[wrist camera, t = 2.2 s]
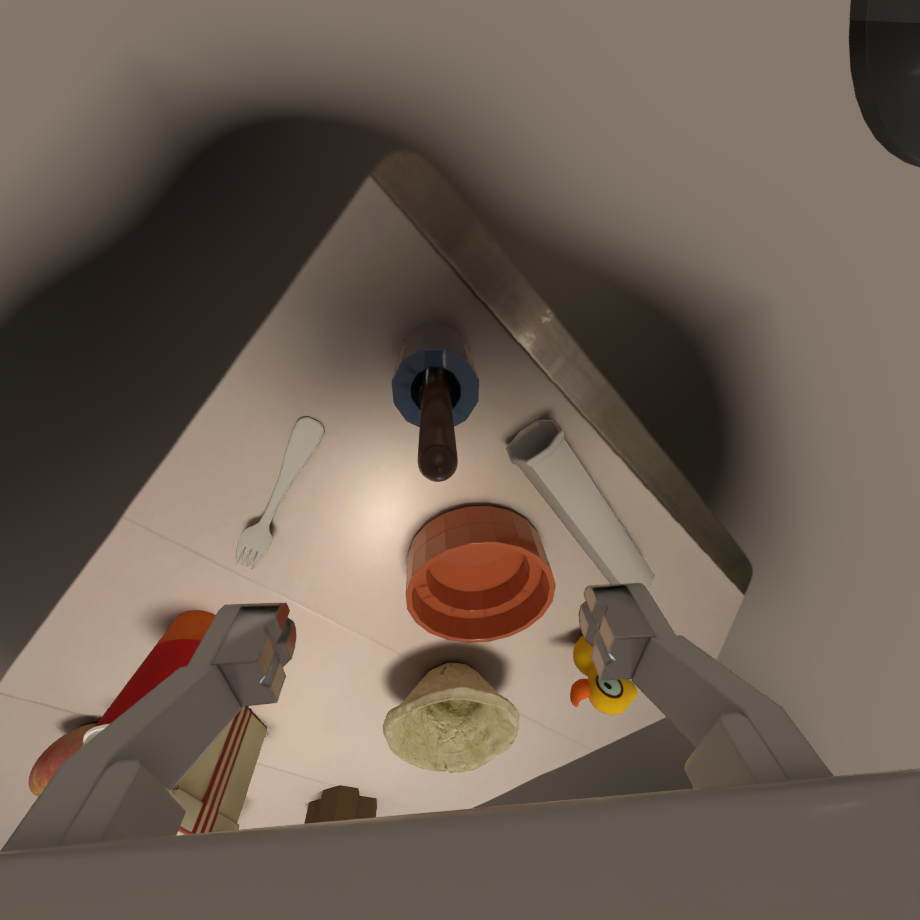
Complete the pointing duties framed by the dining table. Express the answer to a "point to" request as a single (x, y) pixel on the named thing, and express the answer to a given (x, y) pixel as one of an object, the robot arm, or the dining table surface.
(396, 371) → the crock
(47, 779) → the apple
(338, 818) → the candle
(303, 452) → the fork
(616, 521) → the tube
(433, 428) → the stirring stick
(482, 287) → the dining table surface
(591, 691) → the duckling
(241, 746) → the gift box
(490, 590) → the orange round shallow dish
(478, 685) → the bowl
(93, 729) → the paper cup
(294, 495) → the dining table surface
